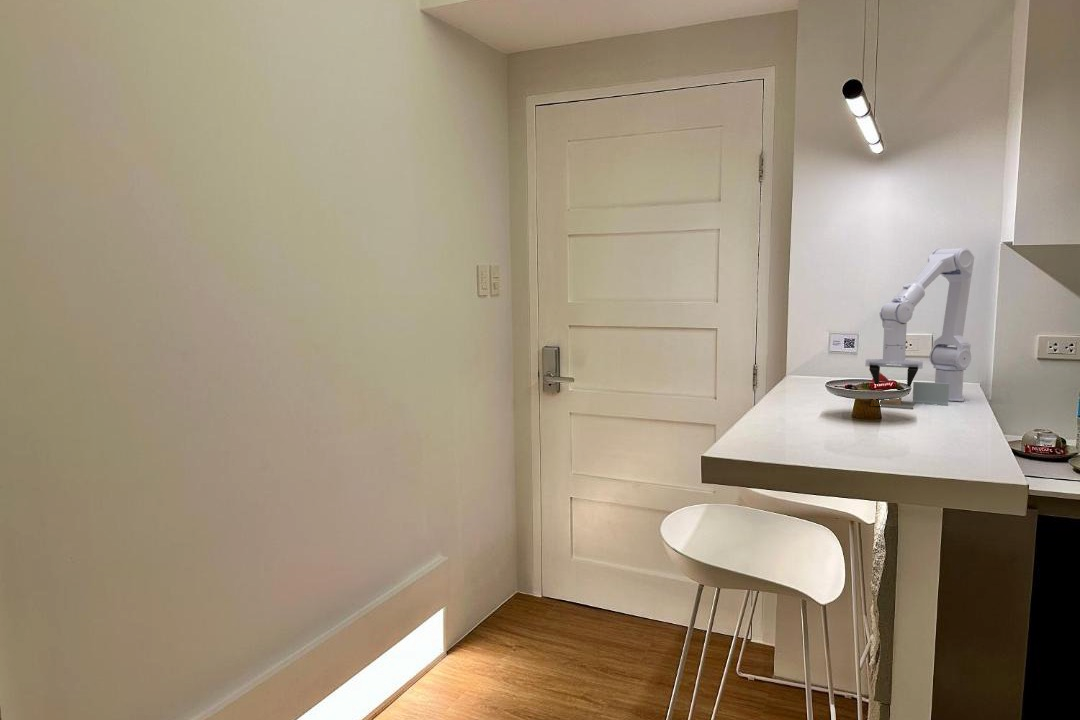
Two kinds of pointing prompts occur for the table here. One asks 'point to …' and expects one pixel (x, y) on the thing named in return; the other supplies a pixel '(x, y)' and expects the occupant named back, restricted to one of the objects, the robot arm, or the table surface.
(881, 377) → the onion
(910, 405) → the grey square plate
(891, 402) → the taped cardboard box
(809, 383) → the table surface
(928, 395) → the screen
